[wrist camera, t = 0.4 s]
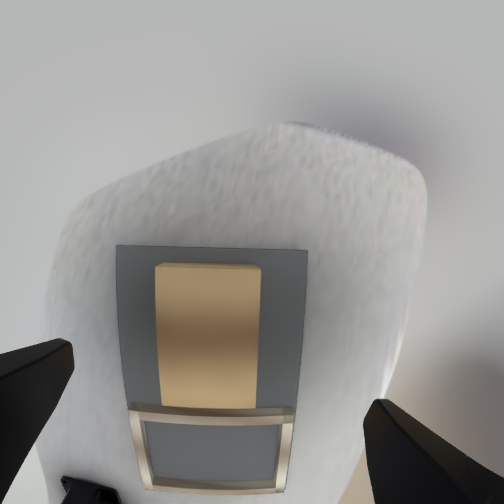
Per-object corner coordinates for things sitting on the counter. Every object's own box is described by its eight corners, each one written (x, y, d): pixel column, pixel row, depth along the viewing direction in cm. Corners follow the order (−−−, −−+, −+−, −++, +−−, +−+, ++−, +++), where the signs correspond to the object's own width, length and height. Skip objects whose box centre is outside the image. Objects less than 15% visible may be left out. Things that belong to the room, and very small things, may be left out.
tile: (251, 387, 21) (255, 408, 18) (168, 385, 21) (161, 405, 18) (255, 264, 21) (261, 269, 18) (164, 262, 20) (155, 266, 17)
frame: (281, 484, 22) (283, 492, 21) (147, 480, 21) (144, 489, 20) (291, 406, 21) (294, 414, 20) (131, 402, 20) (127, 410, 19)
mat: (284, 486, 23) (285, 489, 22) (145, 482, 21) (144, 486, 21) (305, 250, 21) (307, 250, 21) (118, 245, 20) (116, 245, 20)
